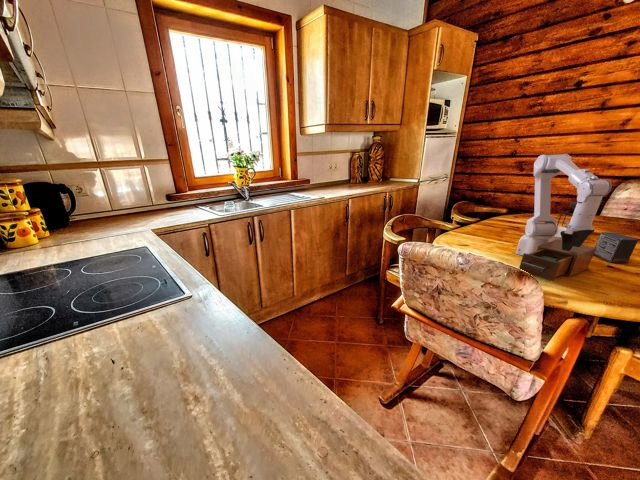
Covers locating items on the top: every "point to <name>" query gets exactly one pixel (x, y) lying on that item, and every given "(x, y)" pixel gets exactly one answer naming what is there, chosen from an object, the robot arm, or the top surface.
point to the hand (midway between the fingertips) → (570, 248)
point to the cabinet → (580, 255)
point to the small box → (614, 247)
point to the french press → (572, 205)
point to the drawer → (546, 264)
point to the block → (550, 258)
